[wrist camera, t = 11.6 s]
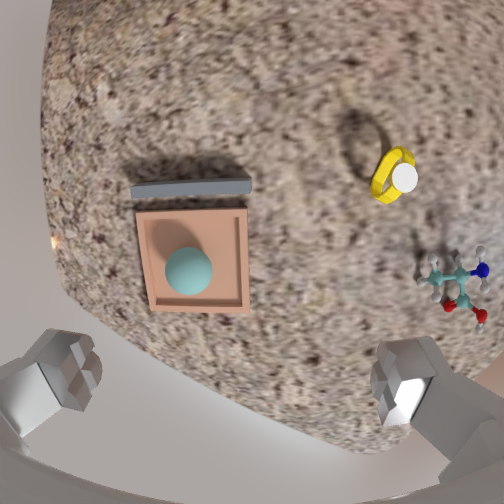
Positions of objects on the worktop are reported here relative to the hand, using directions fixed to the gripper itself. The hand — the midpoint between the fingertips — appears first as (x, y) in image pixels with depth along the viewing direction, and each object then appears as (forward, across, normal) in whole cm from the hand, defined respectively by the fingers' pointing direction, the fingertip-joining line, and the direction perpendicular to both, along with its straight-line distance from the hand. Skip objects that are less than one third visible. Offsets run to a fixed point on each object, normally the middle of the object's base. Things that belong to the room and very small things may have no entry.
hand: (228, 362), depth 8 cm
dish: (+25, +7, +8) cm, 28 cm away
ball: (+25, +7, +8) cm, 27 cm away
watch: (+26, -13, -2) cm, 29 cm away
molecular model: (+26, -24, +10) cm, 37 cm away
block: (+26, +7, 0) cm, 26 cm away
